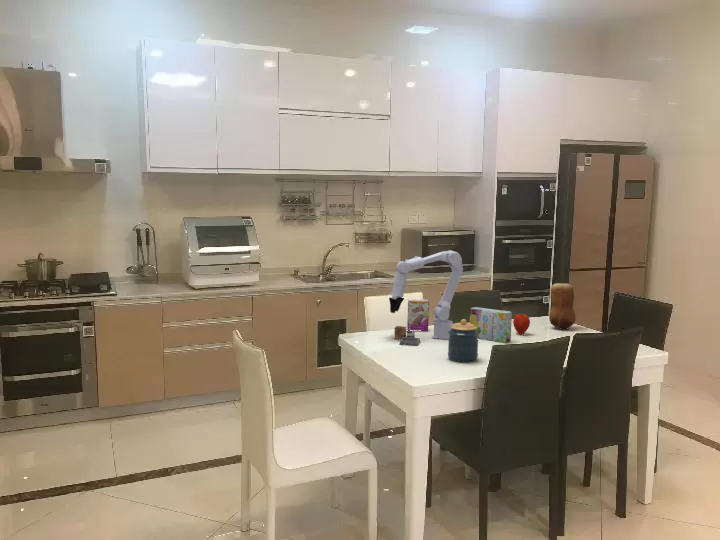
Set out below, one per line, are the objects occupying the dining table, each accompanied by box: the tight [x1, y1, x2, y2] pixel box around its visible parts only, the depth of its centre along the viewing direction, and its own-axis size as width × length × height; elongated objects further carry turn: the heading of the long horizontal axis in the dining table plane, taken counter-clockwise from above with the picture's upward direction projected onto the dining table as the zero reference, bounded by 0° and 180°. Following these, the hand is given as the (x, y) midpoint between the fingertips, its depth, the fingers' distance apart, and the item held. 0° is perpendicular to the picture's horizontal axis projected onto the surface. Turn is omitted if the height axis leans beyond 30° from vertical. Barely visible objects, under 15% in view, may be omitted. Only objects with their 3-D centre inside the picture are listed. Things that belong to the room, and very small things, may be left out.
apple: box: [512, 313, 531, 335], centre depth 317 cm, size 9×8×11 cm
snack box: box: [469, 306, 513, 344], centre depth 305 cm, size 21×6×15 cm, turn 47°
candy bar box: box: [406, 298, 430, 332], centre depth 325 cm, size 11×5×16 cm, turn 84°
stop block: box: [393, 325, 407, 341], centre depth 305 cm, size 5×4×6 cm
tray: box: [399, 336, 421, 347], centre depth 295 cm, size 8×8×2 cm
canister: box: [447, 318, 479, 363], centre depth 266 cm, size 13×13×18 cm
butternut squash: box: [548, 282, 576, 330], centre depth 331 cm, size 14×13×25 cm
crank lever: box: [406, 330, 416, 338], centre depth 304 cm, size 8×3×4 cm, turn 165°
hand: (394, 311), depth 306 cm, fingers open, 7 cm apart
